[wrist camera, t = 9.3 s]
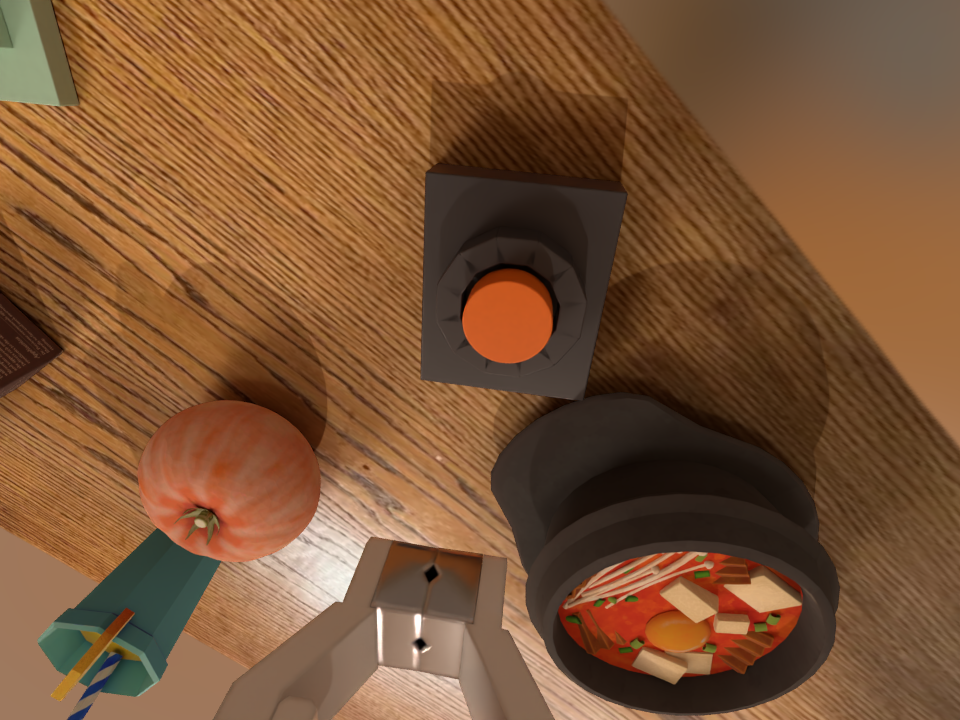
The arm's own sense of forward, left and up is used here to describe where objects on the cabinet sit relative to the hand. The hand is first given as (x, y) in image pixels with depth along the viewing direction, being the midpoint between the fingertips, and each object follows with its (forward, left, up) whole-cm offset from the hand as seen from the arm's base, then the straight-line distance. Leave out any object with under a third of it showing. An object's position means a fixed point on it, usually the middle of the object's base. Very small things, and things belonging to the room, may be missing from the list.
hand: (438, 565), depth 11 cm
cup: (+25, -22, -19) cm, 39 cm away
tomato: (+14, -15, -19) cm, 28 cm away
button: (0, +1, -15) cm, 15 cm away
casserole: (+16, +12, -19) cm, 28 cm away
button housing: (0, +1, -19) cm, 19 cm away
